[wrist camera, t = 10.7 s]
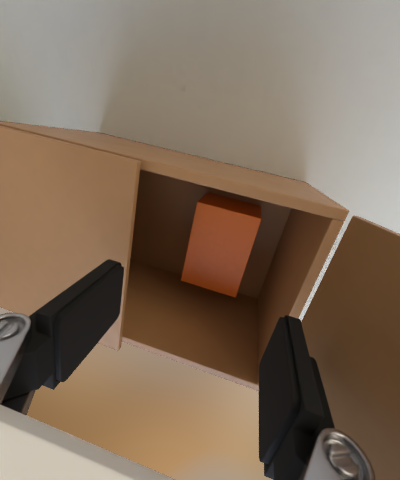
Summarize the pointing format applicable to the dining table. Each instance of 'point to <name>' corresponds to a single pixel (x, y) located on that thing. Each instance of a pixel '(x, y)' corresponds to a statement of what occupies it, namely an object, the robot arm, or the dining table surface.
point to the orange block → (220, 243)
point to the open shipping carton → (155, 242)
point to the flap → (361, 341)
